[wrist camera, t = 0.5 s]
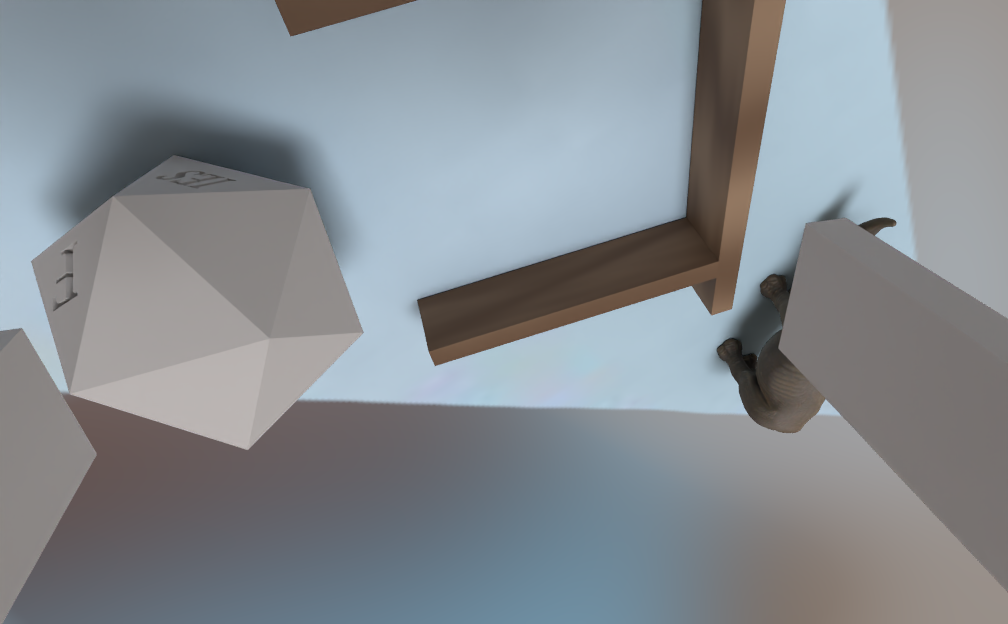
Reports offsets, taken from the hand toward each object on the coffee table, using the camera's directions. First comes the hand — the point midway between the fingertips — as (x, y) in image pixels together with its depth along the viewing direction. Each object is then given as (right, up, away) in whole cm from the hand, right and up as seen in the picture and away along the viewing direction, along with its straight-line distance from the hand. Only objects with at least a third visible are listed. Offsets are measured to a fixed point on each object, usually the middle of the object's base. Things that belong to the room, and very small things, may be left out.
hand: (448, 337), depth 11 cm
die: (-9, +4, +11) cm, 15 cm away
